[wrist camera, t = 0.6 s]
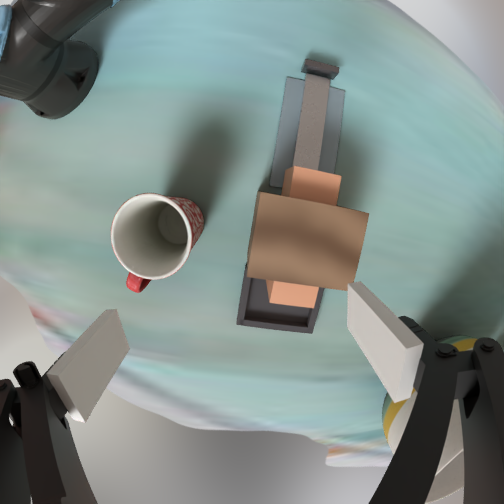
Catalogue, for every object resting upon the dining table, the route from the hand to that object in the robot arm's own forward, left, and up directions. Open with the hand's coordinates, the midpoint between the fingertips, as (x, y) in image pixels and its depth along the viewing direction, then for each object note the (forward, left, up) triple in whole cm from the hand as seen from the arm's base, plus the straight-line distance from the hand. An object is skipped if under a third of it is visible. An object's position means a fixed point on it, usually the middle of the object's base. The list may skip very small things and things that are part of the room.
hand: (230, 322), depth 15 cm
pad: (-10, +15, -27) cm, 32 cm away
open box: (+2, +7, -27) cm, 28 cm away
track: (-6, +12, -27) cm, 30 cm away
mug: (-5, -9, -27) cm, 29 cm away
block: (+2, +7, -25) cm, 26 cm away
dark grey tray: (+11, +1, -27) cm, 29 cm away
